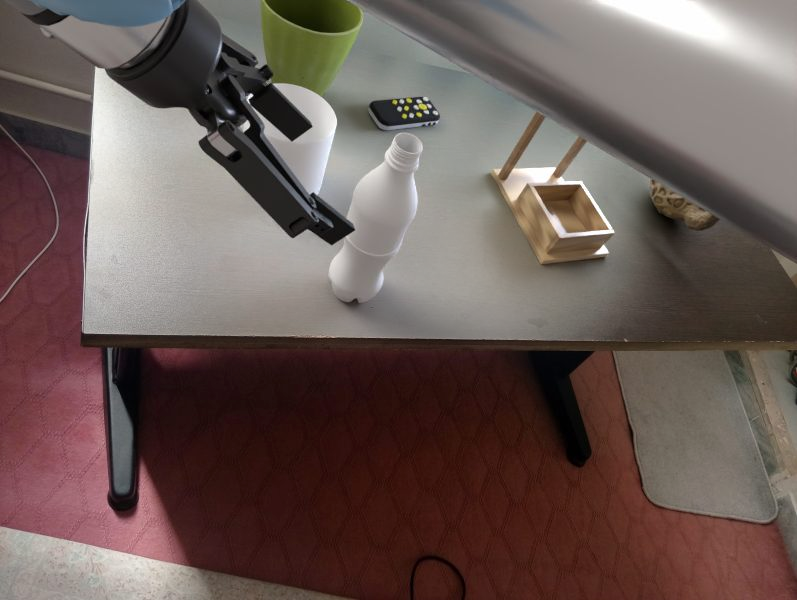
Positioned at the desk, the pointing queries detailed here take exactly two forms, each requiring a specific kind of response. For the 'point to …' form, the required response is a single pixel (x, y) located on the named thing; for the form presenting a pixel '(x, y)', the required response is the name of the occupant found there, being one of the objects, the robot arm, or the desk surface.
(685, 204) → the teapot
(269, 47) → the flower pot
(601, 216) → the rack
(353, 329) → the desk surface
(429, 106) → the remote control
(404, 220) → the water bottle
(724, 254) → the desk surface
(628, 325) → the desk surface
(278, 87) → the cup
